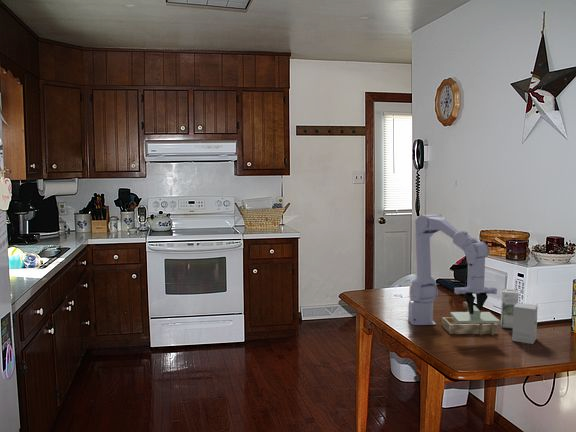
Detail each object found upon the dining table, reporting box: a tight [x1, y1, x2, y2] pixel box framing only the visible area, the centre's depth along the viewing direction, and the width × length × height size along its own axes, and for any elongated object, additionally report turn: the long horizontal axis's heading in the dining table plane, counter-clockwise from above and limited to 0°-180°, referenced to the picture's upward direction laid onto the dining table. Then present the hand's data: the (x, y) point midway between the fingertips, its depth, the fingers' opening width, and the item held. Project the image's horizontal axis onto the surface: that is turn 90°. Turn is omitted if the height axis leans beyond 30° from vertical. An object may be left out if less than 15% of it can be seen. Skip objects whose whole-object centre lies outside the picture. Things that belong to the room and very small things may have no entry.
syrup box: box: [500, 288, 519, 330], centre depth 209 cm, size 6×6×14 cm
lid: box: [449, 305, 501, 324], centre depth 191 cm, size 14×10×4 cm, turn 90°
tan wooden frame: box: [441, 316, 499, 336], centre depth 206 cm, size 18×13×5 cm
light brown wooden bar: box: [462, 301, 475, 312], centre depth 217 cm, size 2×12×2 cm, turn 0°
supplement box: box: [511, 302, 539, 345], centre depth 194 cm, size 7×7×13 cm
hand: (474, 313), depth 191 cm, fingers closed on lid, 2 cm apart
